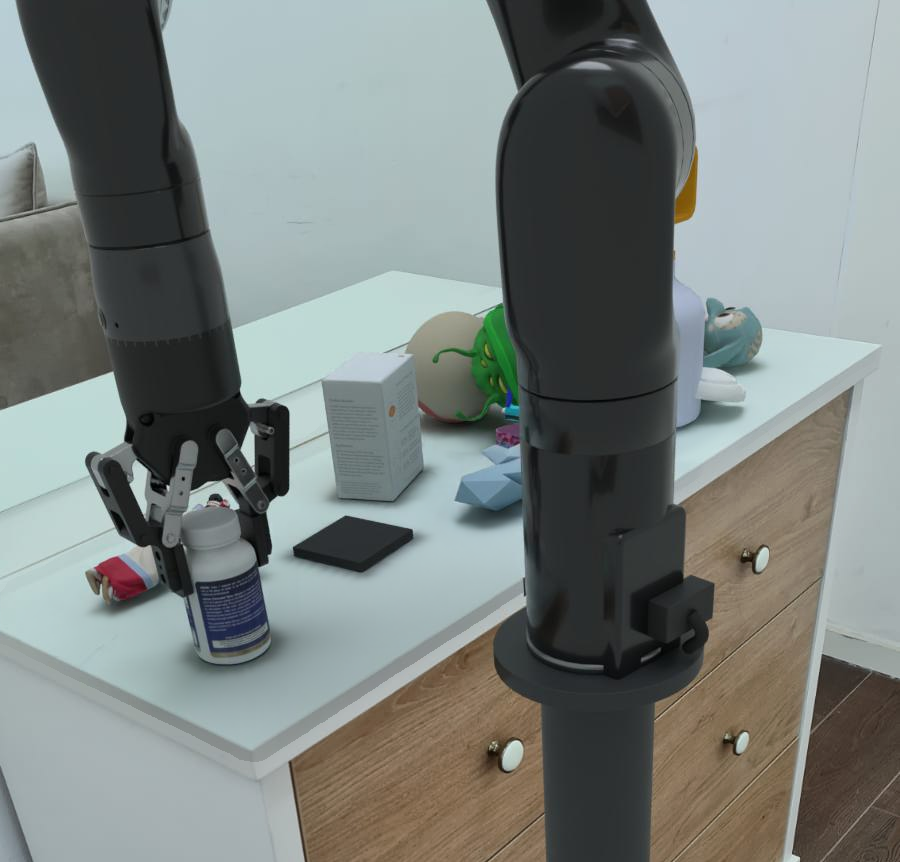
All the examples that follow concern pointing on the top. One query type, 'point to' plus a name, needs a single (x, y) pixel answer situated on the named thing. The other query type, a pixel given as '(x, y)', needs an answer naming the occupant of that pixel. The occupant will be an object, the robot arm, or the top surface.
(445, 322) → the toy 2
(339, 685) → the top surface
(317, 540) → the pad
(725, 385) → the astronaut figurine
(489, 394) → the figurine
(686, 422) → the soap bottle
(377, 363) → the small box
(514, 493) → the polygonal blue rock
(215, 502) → the figurine
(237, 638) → the pill bottle
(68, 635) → the top surface
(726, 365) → the stuffed animal
